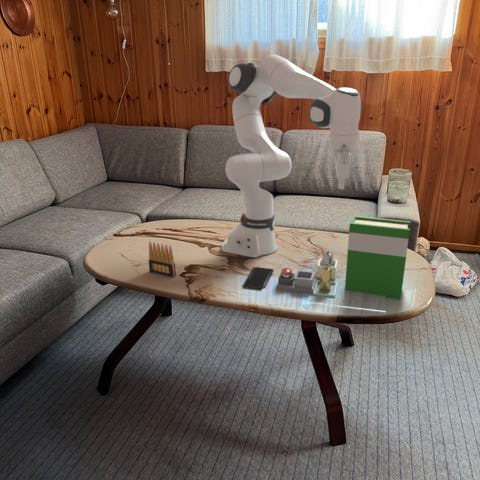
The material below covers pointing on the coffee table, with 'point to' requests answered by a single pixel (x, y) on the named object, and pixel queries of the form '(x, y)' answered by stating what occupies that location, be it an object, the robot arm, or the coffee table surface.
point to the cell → (325, 279)
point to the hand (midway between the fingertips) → (340, 184)
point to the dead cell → (327, 259)
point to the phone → (258, 278)
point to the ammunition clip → (161, 260)
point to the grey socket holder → (298, 282)
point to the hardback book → (377, 256)
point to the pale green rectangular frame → (324, 293)
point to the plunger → (286, 273)
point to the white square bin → (334, 268)
